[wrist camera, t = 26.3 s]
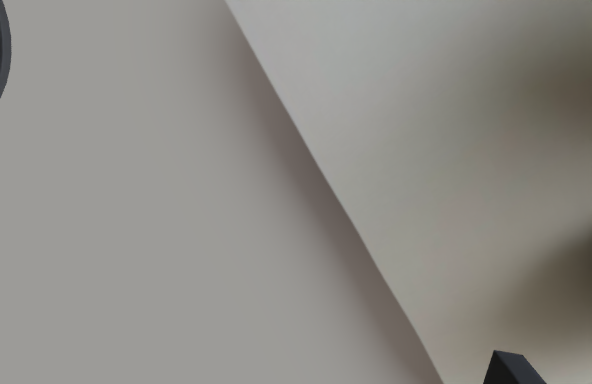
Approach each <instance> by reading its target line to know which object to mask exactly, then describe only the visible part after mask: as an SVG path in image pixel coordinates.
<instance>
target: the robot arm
mask: <svg viewBox="0 0 592 384" xmlns="http://www.w3.org/2000/svg"><path fill="white" fill-rule="evenodd" d="M483 384H546V383H545V381H544V380H543V379H542V378H541V377H540V375H539V374H538V373H537V372H536V370H535V369H534V368H533V367H532V366H531V364H530V363H529V362H528V361H527V360H526V358H525V357H524V356H523V355H520V354H514V353H508V352H503V351H497V350H494V352H493V355H492V358H491V361H490V364H489V367H488V370H487V373H486V376H485V379H484V382H483Z"/></svg>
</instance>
